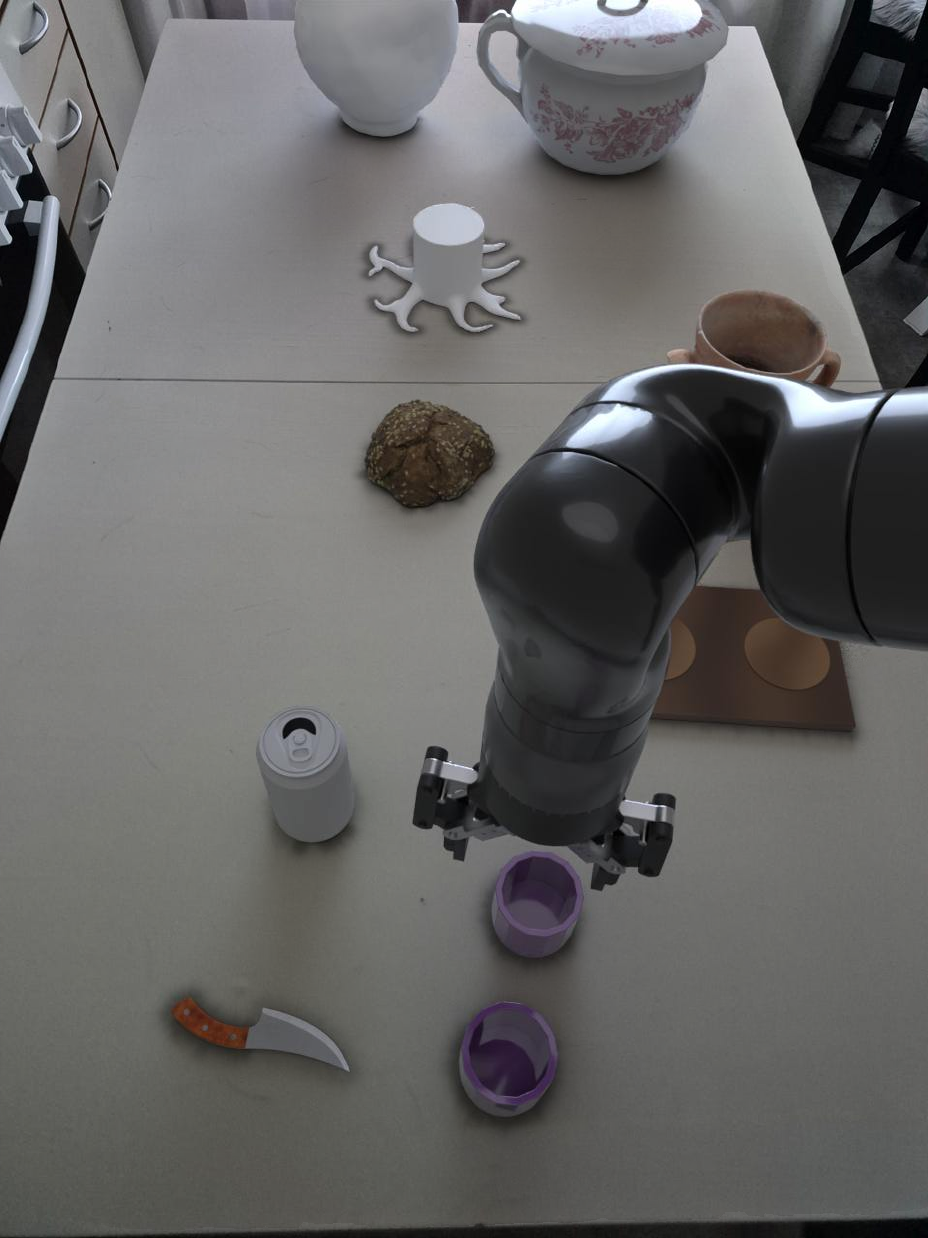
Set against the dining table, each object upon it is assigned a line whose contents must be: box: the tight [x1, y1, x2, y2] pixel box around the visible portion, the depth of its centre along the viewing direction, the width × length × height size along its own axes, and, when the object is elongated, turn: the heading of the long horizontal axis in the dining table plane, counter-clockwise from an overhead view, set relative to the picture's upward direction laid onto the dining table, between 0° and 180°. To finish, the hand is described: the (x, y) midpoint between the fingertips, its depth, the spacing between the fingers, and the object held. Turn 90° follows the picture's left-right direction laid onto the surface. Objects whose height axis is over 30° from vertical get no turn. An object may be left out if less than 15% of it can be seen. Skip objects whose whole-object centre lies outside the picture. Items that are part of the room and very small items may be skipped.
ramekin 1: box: [490, 849, 585, 959], centre depth 71 cm, size 6×6×5 cm
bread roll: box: [364, 398, 496, 508], centre depth 97 cm, size 13×12×5 cm
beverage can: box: [255, 704, 356, 843], centre depth 72 cm, size 6×6×12 cm
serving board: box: [650, 585, 856, 732], centre depth 87 cm, size 22×14×1 cm, turn 87°
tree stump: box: [368, 201, 521, 333], centre depth 113 cm, size 20×19×8 cm
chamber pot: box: [475, 0, 730, 176], centre depth 126 cm, size 28×28×21 cm
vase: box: [293, 0, 460, 138], centre depth 124 cm, size 19×21×30 cm
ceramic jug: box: [666, 288, 842, 388], centre depth 97 cm, size 18×14×14 cm
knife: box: [170, 997, 351, 1073], centre depth 67 cm, size 13×1×3 cm
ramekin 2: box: [458, 1000, 559, 1118], centre depth 65 cm, size 6×6×5 cm
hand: (529, 860), depth 60 cm, fingers open, 8 cm apart
